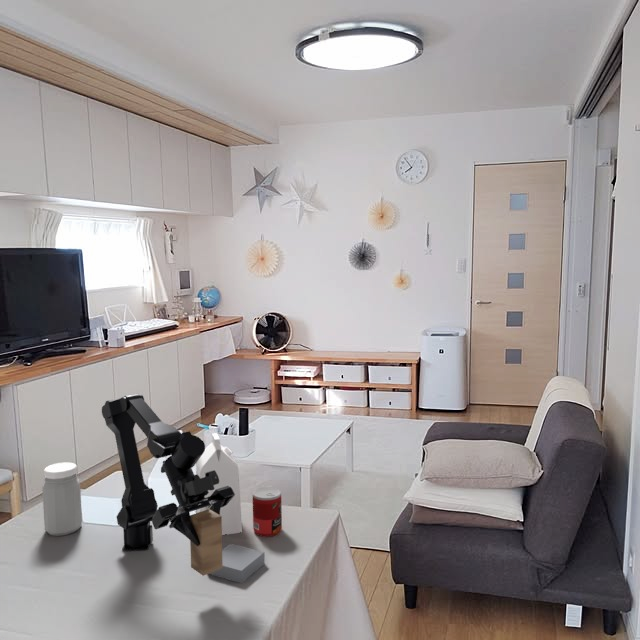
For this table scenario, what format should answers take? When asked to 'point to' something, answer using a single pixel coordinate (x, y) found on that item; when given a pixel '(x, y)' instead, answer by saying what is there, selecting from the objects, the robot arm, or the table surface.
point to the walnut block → (207, 542)
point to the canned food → (267, 512)
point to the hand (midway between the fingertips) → (209, 541)
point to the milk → (223, 482)
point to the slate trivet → (239, 563)
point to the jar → (61, 499)
